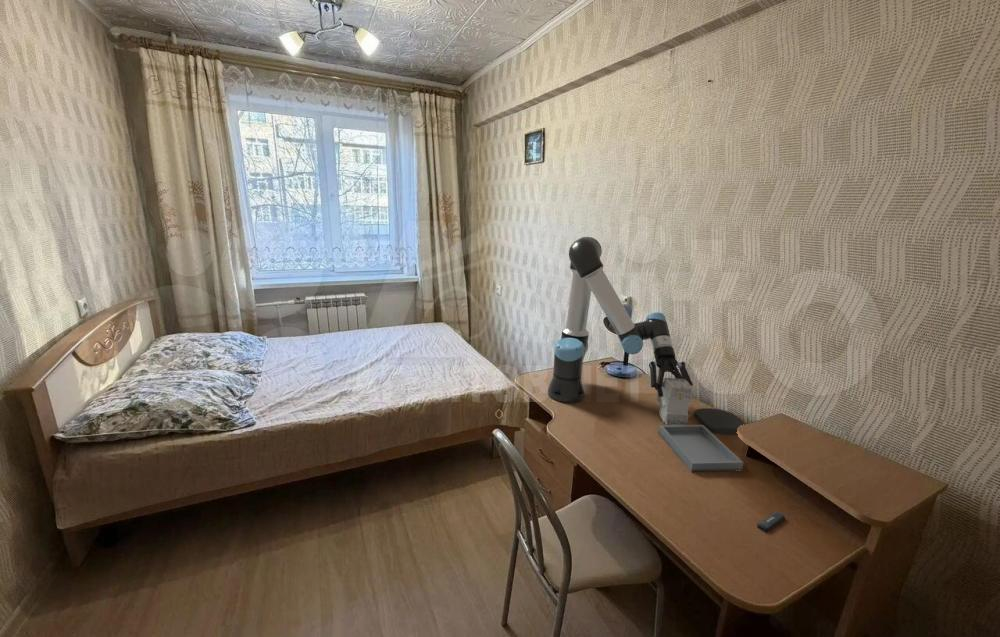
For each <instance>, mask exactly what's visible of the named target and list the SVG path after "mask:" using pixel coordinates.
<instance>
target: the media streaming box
mask: <svg viewBox="0 0 1000 637" xmlns="http://www.w3.org/2000/svg"><path fill="white" fill-rule="evenodd" d="M693 418H694V419H695V421H697V422H698V424H699V425H704V426H705V427H706V428H707V429H708V430H709V431H710V432H711V433H712V434H717V435H718V434H720V435H721V434H723V435H735V434H736V432H737V428H738V427H739V426H740V425H743V424H745V422H744V421H742V419H740V418H739V417H738V416H737V415H736V414H734V413H732V412H730V411H727V410H724V409H720V408H711V407H710V408H709V407H707V408H698V409H695V410H694V413H693ZM736 435H737V434H736Z"/></svg>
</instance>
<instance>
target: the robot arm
mask: <svg viewBox="0 0 1000 637" xmlns="http://www.w3.org/2000/svg"><path fill="white" fill-rule="evenodd" d="M602 251H603V249H602V246H601V244H600V241H598V240H597V239H596V238H594V237H591V236H582V237H580V238H579V239H577V240H575V241H574V242H573V243H571V245H570V247H569V250H568V257H569V258H568V259H569V261H570V265H569V270H570V271H571V272H572V276H571V277H572V279H571V284H570V285H571V286H570V293H569V294H570V295H569V301H568V310H567V317H566V318H567V319H566V326H565V327H564V328H562V330H561V337H560V339H558V340H557V341H556V342H555V344H554V345H555V346H554V349H553V350H554V356H553V370H552V372H553V373H552V378H551V380H550V383H549V384H548V387H547V395H548V397H549V396H550V397H549V398H550V399H552V398H553V399H552V400H554V399H555V400H554V401H557V400H558V401H557V402H560V401H563V402H562V403H566V402H573V403H578V402H581V401H582V400H583V399H584V398H585V390H584V385H583V381H582V373H583V362H584V359H585V357H586V353H587V351H588V350H589V333H590V332H589V330H587V326H588V318H589V312H590V311H589V310H590V304H591V296H592V294H593V295H594V297H595V300H596V301H597V302H598V305H599V307H601V308H600V309H602V311H603V312H604V314H605V316H606V317H607V320H608V321H609V323H610V325H611V326H612V328H613V330H614V332H615V334H616V336H618V339H619V342H620V343H621V346H622V350H623V351H624V352H625V353H627V354H628V355H637V354H638V353H641V351H642V349H643V346H644V341H646V340H650V343H651V346H652V351H653V355H654V359H655V361H654V360H652V361H650V362H649V364H648V367H649V369H650V387H651V388H655V389H654V390H657V397H658V396H659V397H661V400H662V405H663V406H665V405H666V396H665V389H664V387H662V383H663V382H664V379H665V373H671V375H673V377H674V378H676V379H686V380H687V382H688V383H689V384H690V385H691V386H692V387H693V385H694V384H693V381H692V379H691V377H690V375H689V372H688V370H687V368H686V363H685V361H682V362H681V361H678V360H677V359H676V353H675V349H674V347H673V342H672V338H671V334H670V329H669V326H668V322H667V319H666V316H665V314H664V313H662V312H659V311H657V312H655V311H654V312H651V313H650V314H648V315H646V317H645V320H644V321H639V322H635V323H634V321H633V320H632V319H631V318H632V317H630V314H629V313H628V311H627V309H626V308H625V306H624V305H623V303H622V301H621V299H620V297H619V295H618V294H617V292H616V290H615V289H614V287H613V285H612V283H611V281H610V280H609V278H608V277H607V275H606V273H605V271H604V267H605V265H604V264H603V262H602V260H601V256H602V253H603V252H602ZM657 368H658V369H659V370H658V376H657ZM661 387H662V388H661ZM580 400H581V401H580ZM577 401H578V402H577ZM690 405H691V402H690V403H689V406H690Z"/></svg>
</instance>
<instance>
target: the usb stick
mask: <svg viewBox="0 0 1000 637" xmlns="http://www.w3.org/2000/svg"><path fill="white" fill-rule="evenodd" d="M785 518H786V517H785V515H784V514H782V512H779V511H774V512H773V513H771V514H770V515H768V516H767V517H765V518H764V519H763V520H762V521H760V522H759V523H757V524H756V525H757V526H756V527H757V528H758V529H759V530H760V531H761V532H764V533H768V532H769V531H771V530H772V529H774V528H775V527H777V526H778V525H779V524H781V523H782V522H784V520H785Z"/></svg>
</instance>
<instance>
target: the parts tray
mask: <svg viewBox="0 0 1000 637" xmlns="http://www.w3.org/2000/svg"><path fill="white" fill-rule="evenodd" d="M658 435H659V436H660V437H661V439H662V440H664V442H665V443H666V444H667V445H668V446H669V448H670V449H671V450H672V452H674V454H675V455H676V456H677V457H678V458H679V459H680V461H681V462H682V463H683V465H685V467H686V468H687V469H688V470H689V471H690V473H705V472H706V473H710V472H711V473H713V472H714V473H715V472H717V473H718V472H739V471H738V470H742V471H743V466H744V461H742V460H741V458H739V456H737V455H736V454H735V453H734V452H733V451H732V450H731V449H729V447H728V446H727V445H725V443H723V442H722V441H721V440H720V439H719V438H718V437H717V436H716V435H715V434H714V433H713V432H710V431H709V430H708V429H707V428H706V427H705V426H704V425H701V424H686V425H683V424H682V425H665V424H664V425H659V427H658ZM736 470H737V471H736Z"/></svg>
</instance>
